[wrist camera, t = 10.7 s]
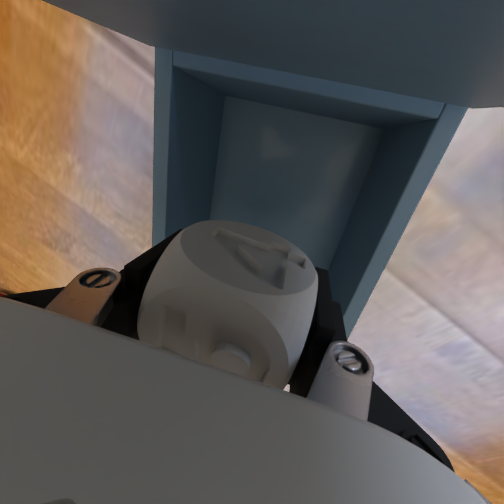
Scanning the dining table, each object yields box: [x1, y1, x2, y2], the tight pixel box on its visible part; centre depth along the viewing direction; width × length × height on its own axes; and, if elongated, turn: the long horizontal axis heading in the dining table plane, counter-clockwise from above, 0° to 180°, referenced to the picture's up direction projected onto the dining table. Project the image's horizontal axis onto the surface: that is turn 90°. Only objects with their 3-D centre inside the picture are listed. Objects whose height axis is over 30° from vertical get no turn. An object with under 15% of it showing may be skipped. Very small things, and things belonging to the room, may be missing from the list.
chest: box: [152, 47, 468, 339], centre depth 18 cm, size 16×14×9 cm
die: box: [137, 220, 318, 390], centre depth 9 cm, size 5×5×5 cm
